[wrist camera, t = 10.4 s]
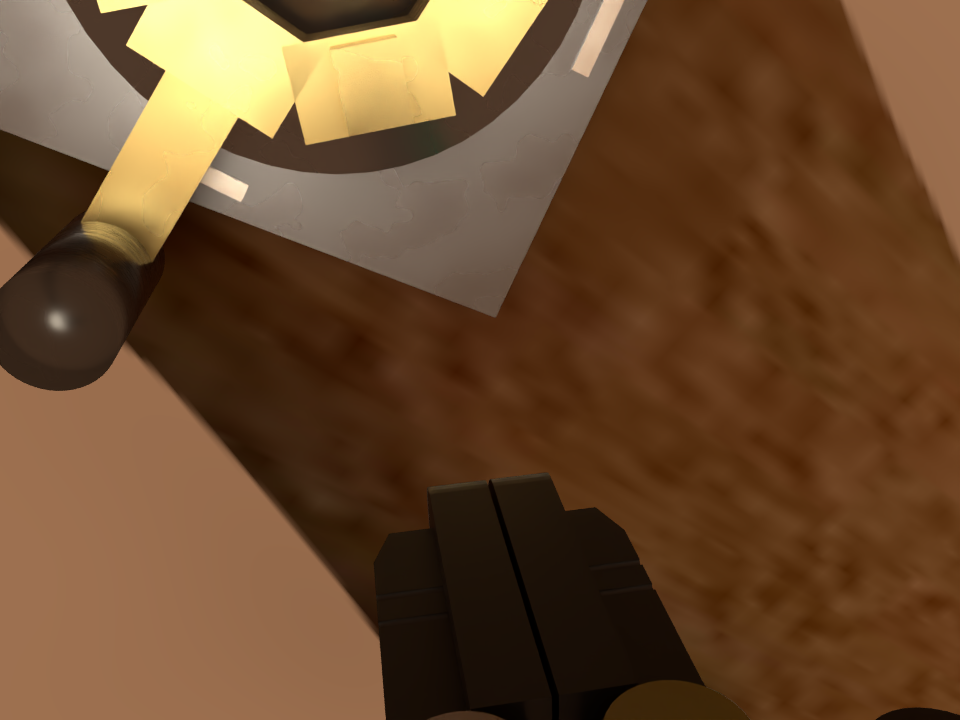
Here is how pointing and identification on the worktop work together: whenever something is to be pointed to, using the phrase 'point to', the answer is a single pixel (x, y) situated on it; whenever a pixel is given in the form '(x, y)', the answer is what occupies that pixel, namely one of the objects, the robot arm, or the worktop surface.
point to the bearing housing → (351, 160)
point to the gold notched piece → (202, 131)
